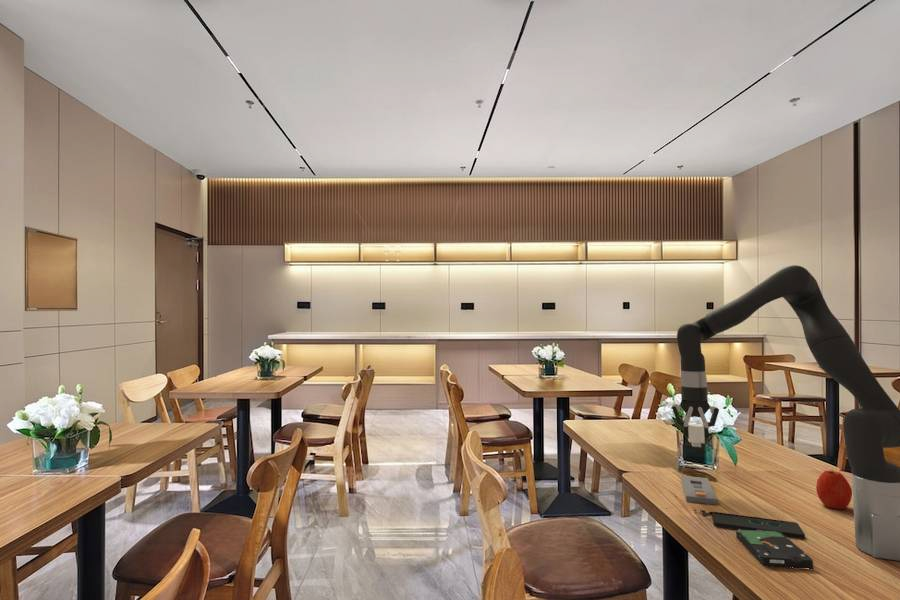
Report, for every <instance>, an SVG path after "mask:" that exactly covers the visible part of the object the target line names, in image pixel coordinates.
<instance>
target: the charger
mask: <svg viewBox="0 0 900 600" xmlns="http://www.w3.org/2000/svg"><path fill="white" fill-rule="evenodd" d="M688 433H689V439H687V440H688V442H689V443H691V446H692V447H693V448H702V444H706V442H705V441H706V440H705V437H704V426H703V423H702V424H699V423H698V424H697V423H688Z"/></svg>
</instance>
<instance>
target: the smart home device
mask: <svg viewBox="0 0 900 600" xmlns="http://www.w3.org/2000/svg"><path fill="white" fill-rule="evenodd" d="M711 518H712V519H711V520H712V522H713V526H714V527H716V528H722V529H728V530H734V531H735V530H736V531H738V529H741V530H768V531H780V532H781V533H782V534H784V535H785V536H786V537H787V538H794V539H798V538H801V539H800V540H806V533H805V531H803V529H802V527H801V526H800V525H799V523H797V522H795V521H787V520H780V519H773V518H765V517H756V516H749V515H741V514H733V513H728V512H727V513H725V512H718V511H711Z"/></svg>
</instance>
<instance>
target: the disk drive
mask: <svg viewBox="0 0 900 600" xmlns="http://www.w3.org/2000/svg"><path fill="white" fill-rule="evenodd" d="M735 537H736V539H737V540H738V541H739V542H740V544H742V545H743V546H744V548H746V549H747V551H748V550H749V551H748V552H749V553H750V554H751V555H752V556H753V557H754V558H755V560H756V561H757V560H758V561H759V562H760V563H759V562H758V563H759V564H760V565H761V564H762V565H763V567H764V566H768V567H767V568H779V569H780V567H782V568H781V569H793V568H809V569H814V560H813V559H812V557H810V556H809V555H808V554H807V553H806V552H804V550H802V548H800V547H799V546H797V544H795V543H794V542H793V541H792V540H791V539H789V537H786V536H785V535H784V534H782V533H781V532H780V531H768V530H741V529H738V530H736V531H735ZM762 565H761V566H762ZM784 567H785V568H784ZM786 567H788V568H786ZM790 567H791V568H790ZM792 567H793V568H792Z"/></svg>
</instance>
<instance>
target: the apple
mask: <svg viewBox="0 0 900 600" xmlns="http://www.w3.org/2000/svg"><path fill="white" fill-rule="evenodd" d="M851 487H852V486H851V485H850V483H849V482H848V480H847V478H846V477H845V476H844V475H843V474H842V473H841V472H839V471H834V470H824V471H823V472H822V473H820V475H819V476H818V478H817V479H816V487H815V489H816V495H817V497H818V499H819V500H820V502H821V504H823V505H824V506H825V507H827V508H831V509H834V508H835V509H836V510H845V509H846V508H847V507H848V506H849V505H850V503H851V501H852V498H853V488H851Z"/></svg>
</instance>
